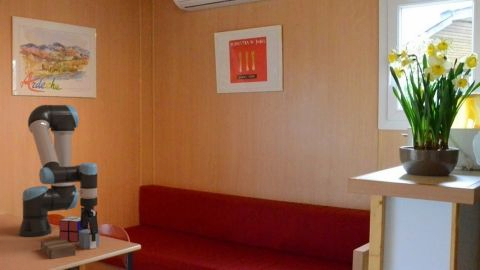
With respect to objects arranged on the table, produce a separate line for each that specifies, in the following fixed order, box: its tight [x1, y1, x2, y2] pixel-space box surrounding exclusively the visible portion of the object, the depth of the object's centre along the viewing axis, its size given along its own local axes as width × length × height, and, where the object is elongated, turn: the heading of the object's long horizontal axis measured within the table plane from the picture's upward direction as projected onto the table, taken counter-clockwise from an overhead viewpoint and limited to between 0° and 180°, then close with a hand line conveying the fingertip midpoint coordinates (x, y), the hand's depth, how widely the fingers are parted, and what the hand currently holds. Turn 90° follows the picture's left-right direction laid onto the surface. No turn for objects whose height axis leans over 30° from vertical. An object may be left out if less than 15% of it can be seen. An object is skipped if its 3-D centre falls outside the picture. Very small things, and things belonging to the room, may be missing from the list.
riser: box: [40, 238, 76, 260], centre depth 226 cm, size 16×10×4 cm, turn 37°
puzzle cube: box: [58, 216, 87, 243], centre depth 250 cm, size 10×10×10 cm
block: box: [78, 229, 100, 250], centre depth 237 cm, size 7×7×7 cm
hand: (88, 245), depth 237 cm, fingers open, 9 cm apart
